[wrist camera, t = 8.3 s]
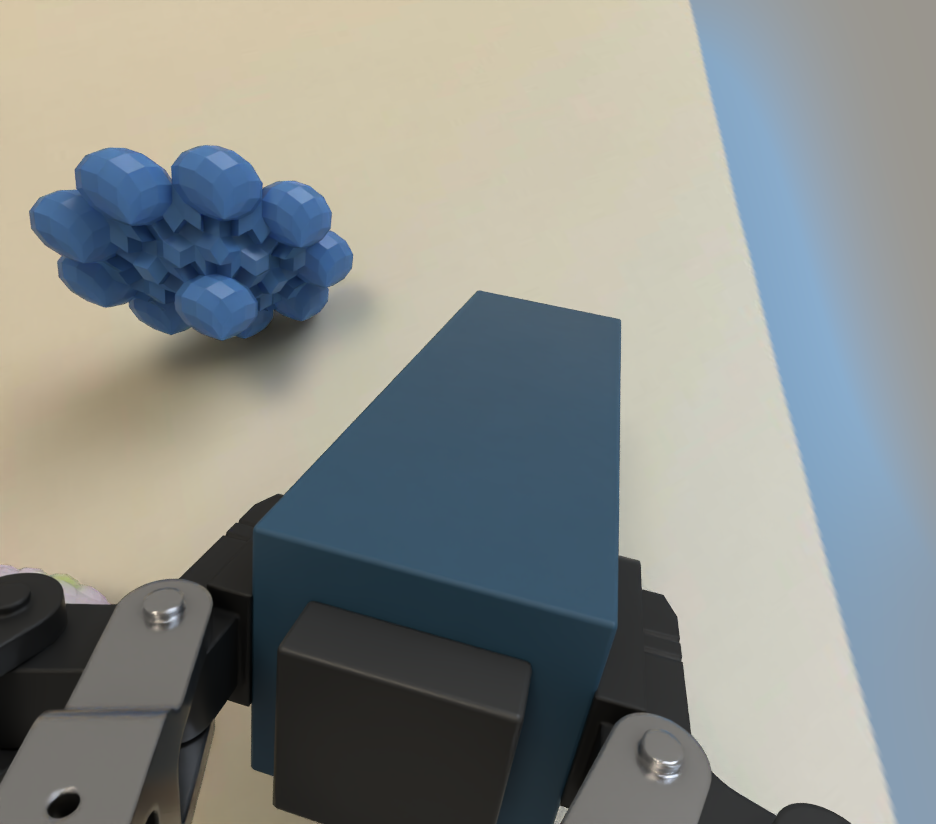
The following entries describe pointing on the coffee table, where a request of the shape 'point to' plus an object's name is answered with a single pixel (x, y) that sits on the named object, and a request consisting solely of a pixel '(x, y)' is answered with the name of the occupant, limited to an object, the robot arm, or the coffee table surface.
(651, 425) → the coffee table surface
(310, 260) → the grapes
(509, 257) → the coffee table surface
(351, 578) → the steel blue prism
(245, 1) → the coffee table surface
